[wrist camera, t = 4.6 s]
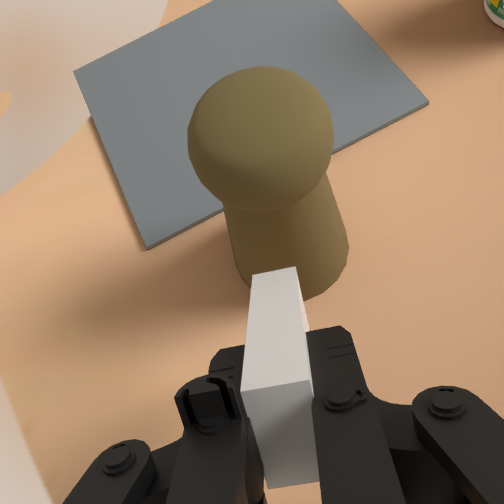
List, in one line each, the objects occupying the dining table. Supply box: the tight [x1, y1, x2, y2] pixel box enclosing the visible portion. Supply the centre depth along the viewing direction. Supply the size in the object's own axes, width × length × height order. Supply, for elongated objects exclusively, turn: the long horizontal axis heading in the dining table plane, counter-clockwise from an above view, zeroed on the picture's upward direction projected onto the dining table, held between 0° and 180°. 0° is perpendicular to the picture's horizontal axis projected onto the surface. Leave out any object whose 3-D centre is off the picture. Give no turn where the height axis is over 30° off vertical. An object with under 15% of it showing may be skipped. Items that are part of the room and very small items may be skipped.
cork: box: [187, 66, 349, 301], centre depth 20 cm, size 6×6×11 cm
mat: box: [73, 0, 429, 250], centre depth 31 cm, size 18×16×1 cm
